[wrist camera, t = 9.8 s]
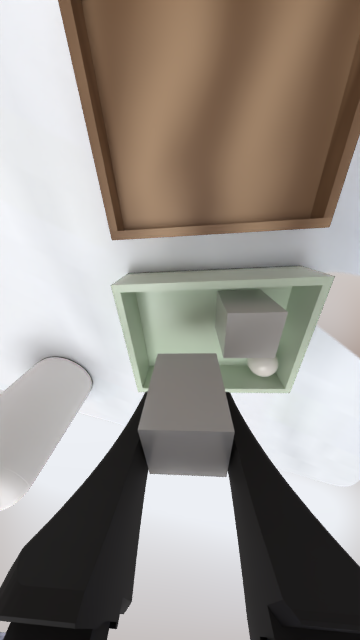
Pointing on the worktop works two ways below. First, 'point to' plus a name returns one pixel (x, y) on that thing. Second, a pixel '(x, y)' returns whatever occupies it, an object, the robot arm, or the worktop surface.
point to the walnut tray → (217, 110)
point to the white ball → (263, 366)
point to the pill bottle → (36, 421)
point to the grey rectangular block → (248, 323)
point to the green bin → (199, 319)
